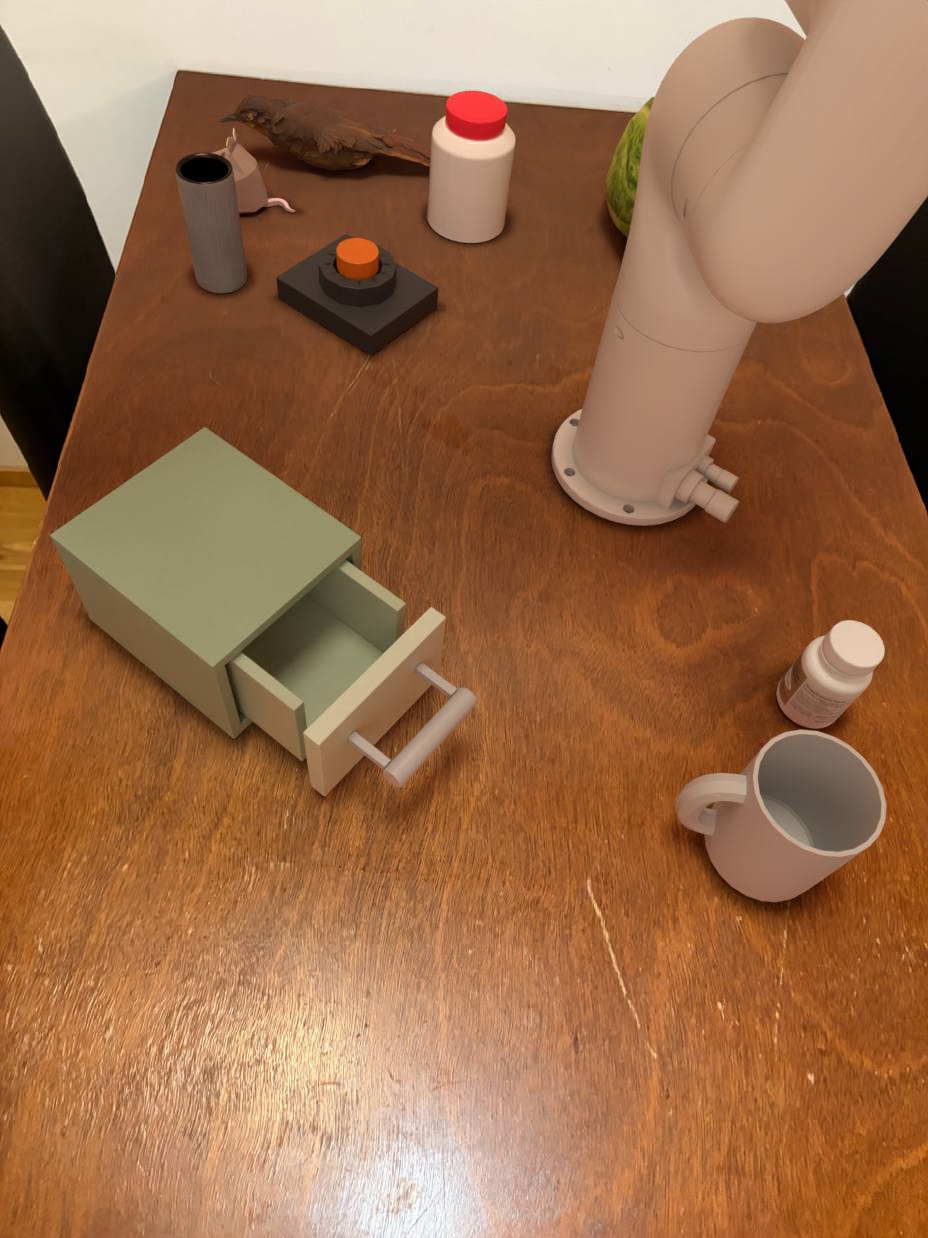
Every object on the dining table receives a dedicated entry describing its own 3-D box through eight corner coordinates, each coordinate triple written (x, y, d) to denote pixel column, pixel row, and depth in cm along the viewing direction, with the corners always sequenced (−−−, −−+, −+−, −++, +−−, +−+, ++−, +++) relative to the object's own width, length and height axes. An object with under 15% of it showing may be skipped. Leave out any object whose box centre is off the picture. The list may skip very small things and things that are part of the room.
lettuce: (583, 193, 99) (718, 225, 101) (601, 265, 80) (769, 302, 81) (624, 38, 90) (772, 75, 91) (657, 76, 70) (844, 122, 72)
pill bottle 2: (789, 662, 63) (837, 601, 56) (847, 696, 62) (903, 637, 55) (764, 706, 61) (811, 647, 54) (823, 742, 59) (878, 686, 53)
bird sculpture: (459, 211, 93) (471, 165, 89) (212, 157, 87) (213, 106, 83) (457, 177, 97) (468, 131, 93) (220, 123, 91) (221, 72, 87)
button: (387, 268, 77) (387, 250, 76) (359, 286, 75) (359, 268, 74) (356, 250, 78) (355, 232, 77) (328, 268, 76) (327, 249, 75)
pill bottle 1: (518, 216, 89) (535, 104, 80) (478, 253, 85) (491, 139, 76) (454, 187, 91) (463, 74, 82) (411, 222, 87) (416, 107, 78)
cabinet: (363, 618, 62) (361, 536, 54) (234, 739, 56) (212, 667, 48) (224, 515, 65) (204, 426, 58) (90, 619, 60) (49, 534, 52)
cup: (818, 916, 53) (891, 870, 45) (653, 881, 53) (699, 829, 46) (814, 803, 57) (881, 744, 49) (660, 771, 57) (703, 707, 50)
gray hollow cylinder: (186, 284, 79) (163, 172, 71) (212, 256, 82) (194, 145, 73) (231, 299, 79) (214, 189, 70) (256, 271, 81) (243, 161, 72)
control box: (437, 307, 80) (440, 269, 77) (371, 356, 76) (371, 317, 73) (346, 254, 83) (345, 214, 80) (278, 298, 79) (274, 258, 76)
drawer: (489, 714, 57) (503, 657, 51) (377, 841, 52) (378, 793, 46) (300, 574, 62) (292, 506, 56) (180, 677, 57) (157, 615, 51)
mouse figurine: (287, 227, 85) (281, 158, 79) (206, 212, 85) (194, 142, 80) (302, 196, 88) (297, 128, 82) (223, 182, 88) (213, 113, 82)
